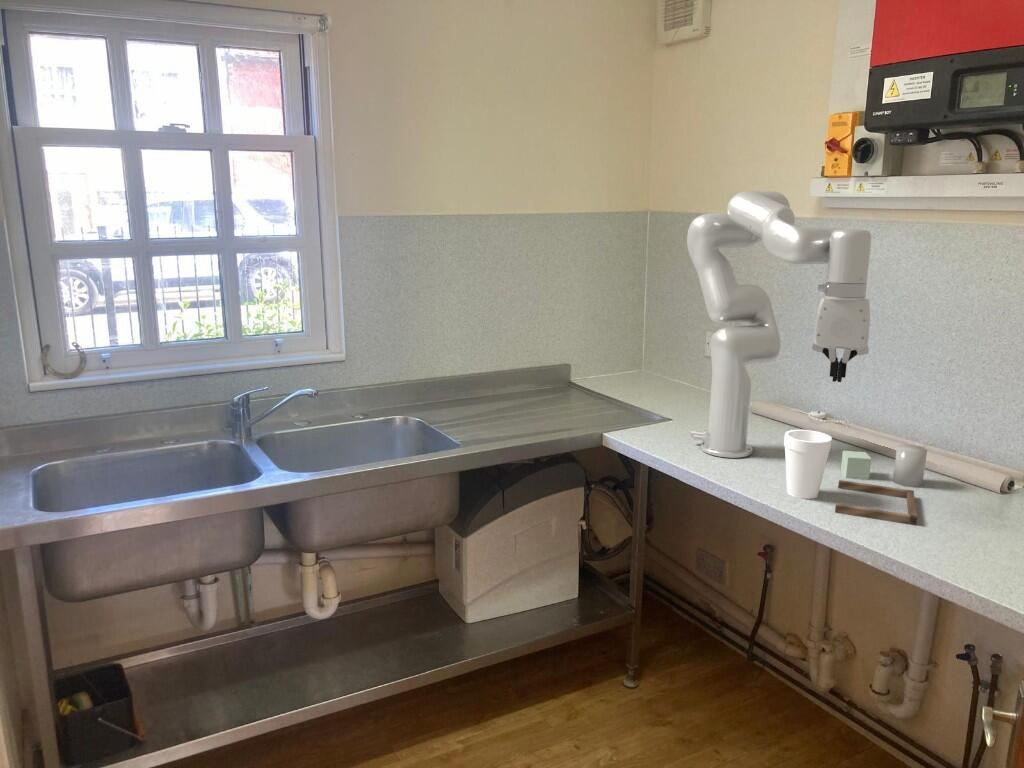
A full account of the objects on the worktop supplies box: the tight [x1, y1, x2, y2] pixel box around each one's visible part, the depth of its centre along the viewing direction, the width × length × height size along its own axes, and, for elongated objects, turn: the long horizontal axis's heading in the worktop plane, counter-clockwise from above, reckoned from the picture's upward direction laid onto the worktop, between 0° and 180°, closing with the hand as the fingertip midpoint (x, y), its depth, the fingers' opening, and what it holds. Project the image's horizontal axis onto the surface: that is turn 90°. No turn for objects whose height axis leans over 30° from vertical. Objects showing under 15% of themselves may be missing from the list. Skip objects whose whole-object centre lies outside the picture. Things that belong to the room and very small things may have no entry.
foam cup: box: [783, 429, 833, 500], centre depth 167 cm, size 10×9×13 cm
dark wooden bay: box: [834, 479, 918, 526], centre depth 163 cm, size 15×16×2 cm
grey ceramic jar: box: [892, 444, 928, 488], centre depth 175 cm, size 6×6×8 cm
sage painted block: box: [840, 450, 872, 480], centre depth 180 cm, size 5×5×5 cm
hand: (837, 380), depth 161 cm, fingers closed
